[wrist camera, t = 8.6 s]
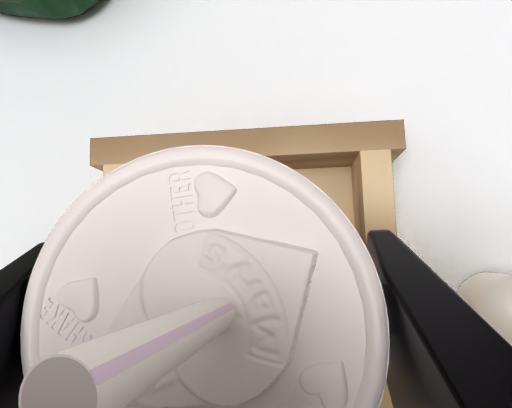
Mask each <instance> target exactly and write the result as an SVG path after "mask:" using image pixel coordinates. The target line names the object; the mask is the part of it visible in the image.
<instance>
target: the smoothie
mask: <svg viewBox="0 0 512 408" xmlns="http://www.w3.org/2000/svg"><path fill="white" fill-rule="evenodd" d="M20 341H21V360H22V369H23V375H24V379H23V381H22V384H21V386H20V391H19V402H18V405H19V408H379V407H380V404H381V400H382V397H383V393H384V389H385V385H386V378H387V372H388V365H389V348H390V339H389V321H388V314H387V307H386V301H385V297H384V293H383V289H382V285H381V282H380V279H379V276H378V273H377V270H376V268H375V265H374V263H373V260H372V258H371V256H370V254H369V252H368V250H367V248H366V246H365V244H364V242H363V241H362V239H361V237H360V235H359V234H358V232H357V230H356V229H355V227H354V226H353V225H352V223H351V222H350V221H349V219H348V218H347V217H346V215H345V214H344V213H343V212H342V210H341V209H340V208H339V207H338V206H337V205H336V204H335V203H334V201H333V200H332V199H331V198H330V197H328V196H327V195H326V194H325V193H324V192H323V191H322V190H321V189H320V188H319V187H317V186H316V185H315V184H313V183H312V182H311V181H309V180H308V179H307V178H305V177H304V176H303V175H301V174H299V173H298V172H296V171H294V170H293V169H291V168H290V167H288V166H286V165H284V164H282V163H280V162H277V161H275V160H273V159H271V158H268V157H266V156H263V155H260V154H257V153H254V152H250V151H247V150H243V149H239V148H232V147H226V146H216V145H191V146H181V147H175V148H169V149H165V150H161V151H157V152H153V153H150V154H147V155H144V156H142V157H139V158H136V159H134V160H132V161H130V162H128V163H126V164H123V165H122V166H120V167H118V168H116V169H115V170H113V171H111V172H110V173H108V174H106V175H105V176H104V177H102V178H101V179H100V180H98V181H97V182H95V183H94V184H93V185H92V186H91V187H89V188H88V189H87V190H86V191H85V192H84V193H82V194H81V195H80V196H79V197H78V198H77V200H76V201H75V202H74V203H73V204H72V205H71V206H70V207H69V208H68V209H67V211H66V212H65V213H64V214H63V216H62V217H61V218H60V219H59V221H58V222H57V224H56V225H55V227H54V228H53V230H52V231H51V233H50V234H49V236H48V238H47V240H46V242H45V243H44V245H43V247H42V249H41V251H40V253H39V256H38V258H37V260H36V262H35V265H34V267H33V270H32V273H31V276H30V279H29V282H28V286H27V290H26V295H25V299H24V305H23V311H22V318H21V334H20Z"/></svg>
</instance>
